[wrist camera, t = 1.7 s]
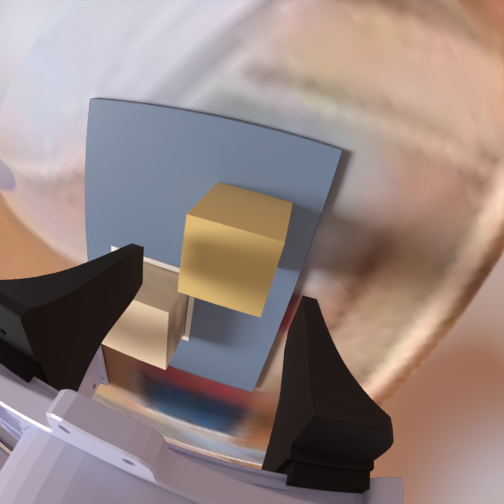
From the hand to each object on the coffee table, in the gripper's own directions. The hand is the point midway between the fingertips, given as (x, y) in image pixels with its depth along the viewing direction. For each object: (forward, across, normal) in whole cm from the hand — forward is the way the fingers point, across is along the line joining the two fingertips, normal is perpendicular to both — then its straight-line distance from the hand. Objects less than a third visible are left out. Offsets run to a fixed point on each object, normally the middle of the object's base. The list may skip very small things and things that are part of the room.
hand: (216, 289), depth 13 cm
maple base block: (+7, +6, +8) cm, 12 cm away
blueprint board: (+7, +4, +5) cm, 10 cm away
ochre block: (+7, 0, 0) cm, 7 cm away
